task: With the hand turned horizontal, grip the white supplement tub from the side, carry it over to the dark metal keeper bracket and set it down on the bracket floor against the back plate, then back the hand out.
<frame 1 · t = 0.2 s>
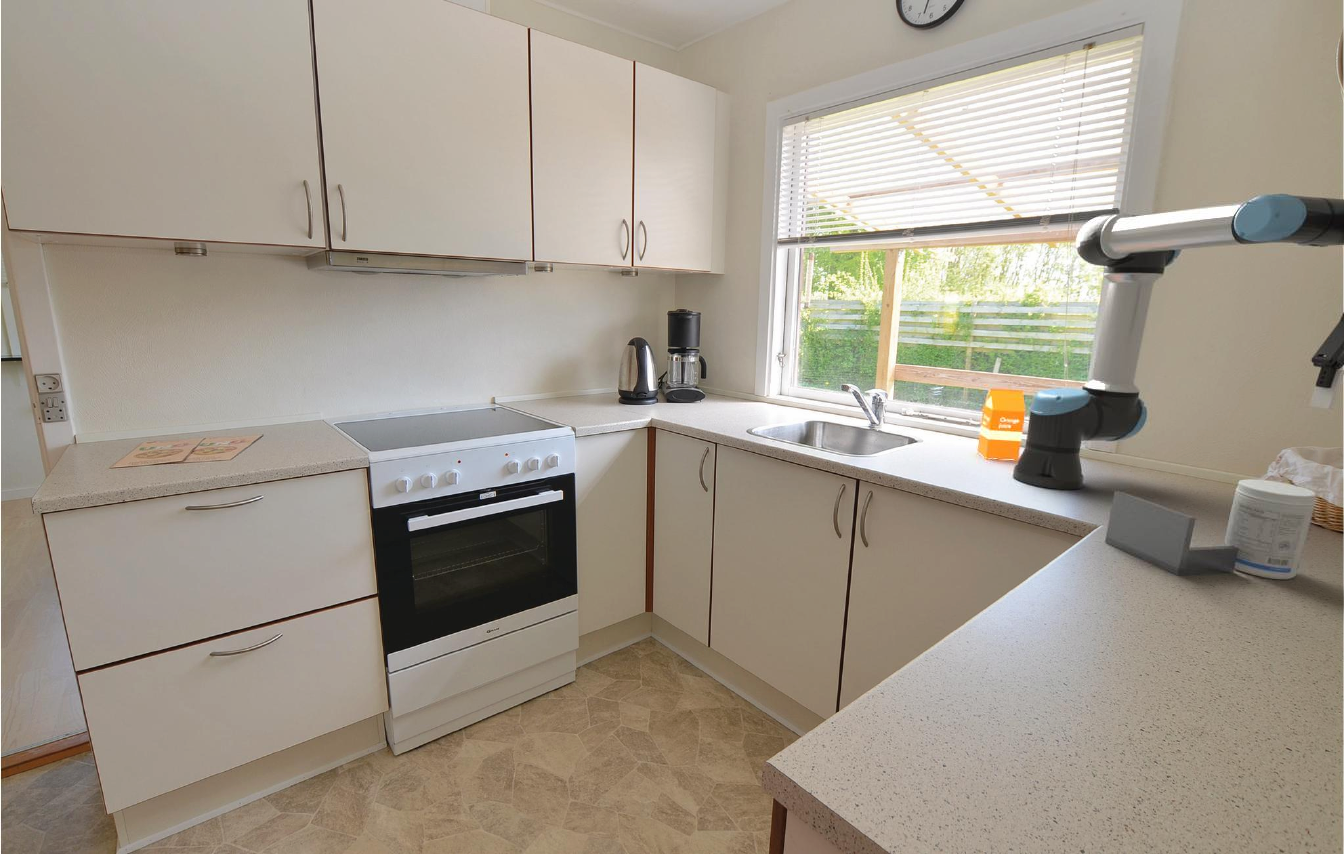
keeper bracket: (1165, 556, 107), on the countertop
supplement tub: (1256, 569, 103), on the countertop
orange juice: (996, 457, 176), on the countertop
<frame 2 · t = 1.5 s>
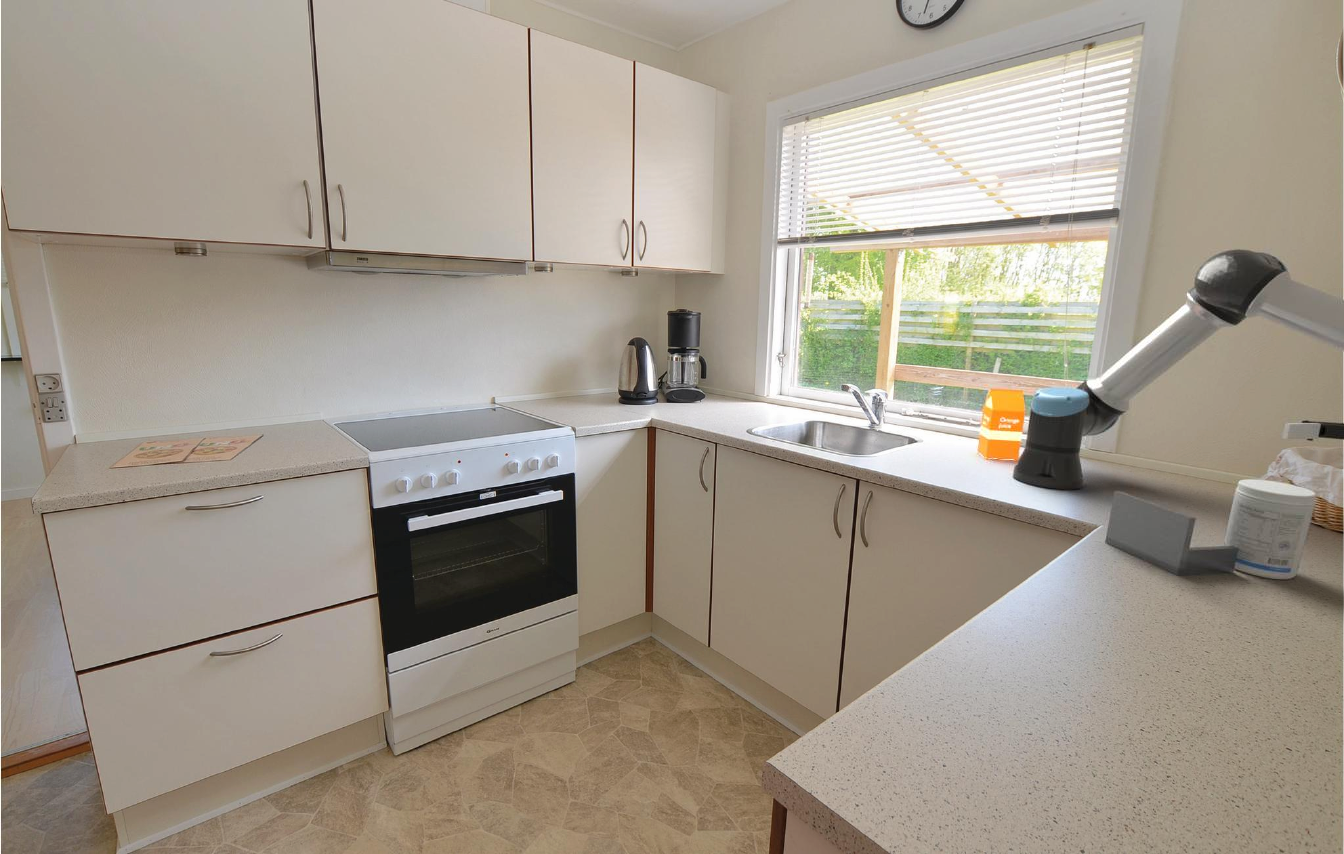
hand: (1332, 439, 100), 23 cm above the countertop, tool horizontal, fingers open, 13 cm apart
nothing on the countertop moved.
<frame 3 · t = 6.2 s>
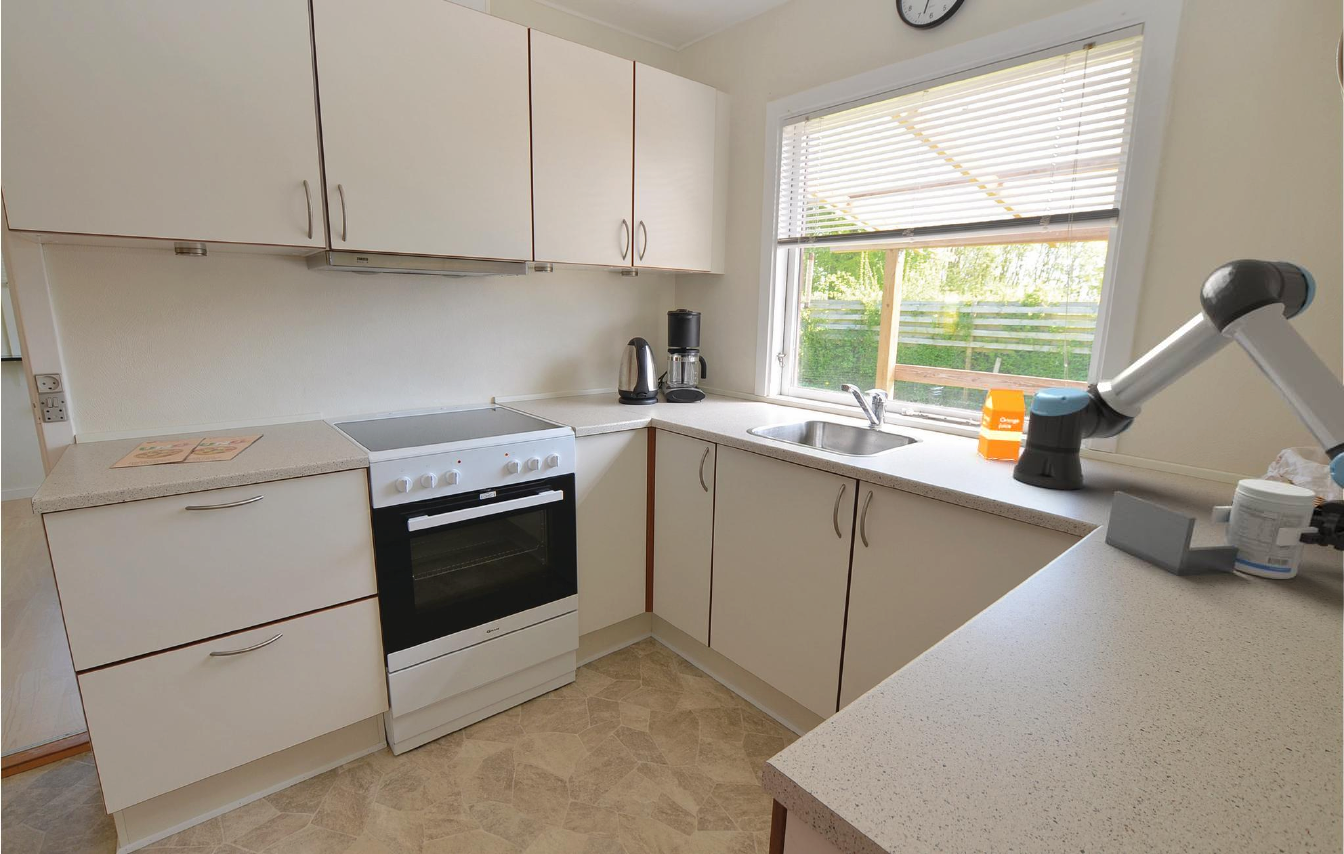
hand: (1245, 525, 100), 8 cm above the countertop, tool horizontal, fingers closed on supplement tub, 9 cm apart
supplement tub: (1256, 569, 103), on the countertop, touching gripper
everything else where it was.
when the fingers open (11 cm above the countertop, at t = 10.8 s): supplement tub drops 1 cm, resting on keeper bracket.
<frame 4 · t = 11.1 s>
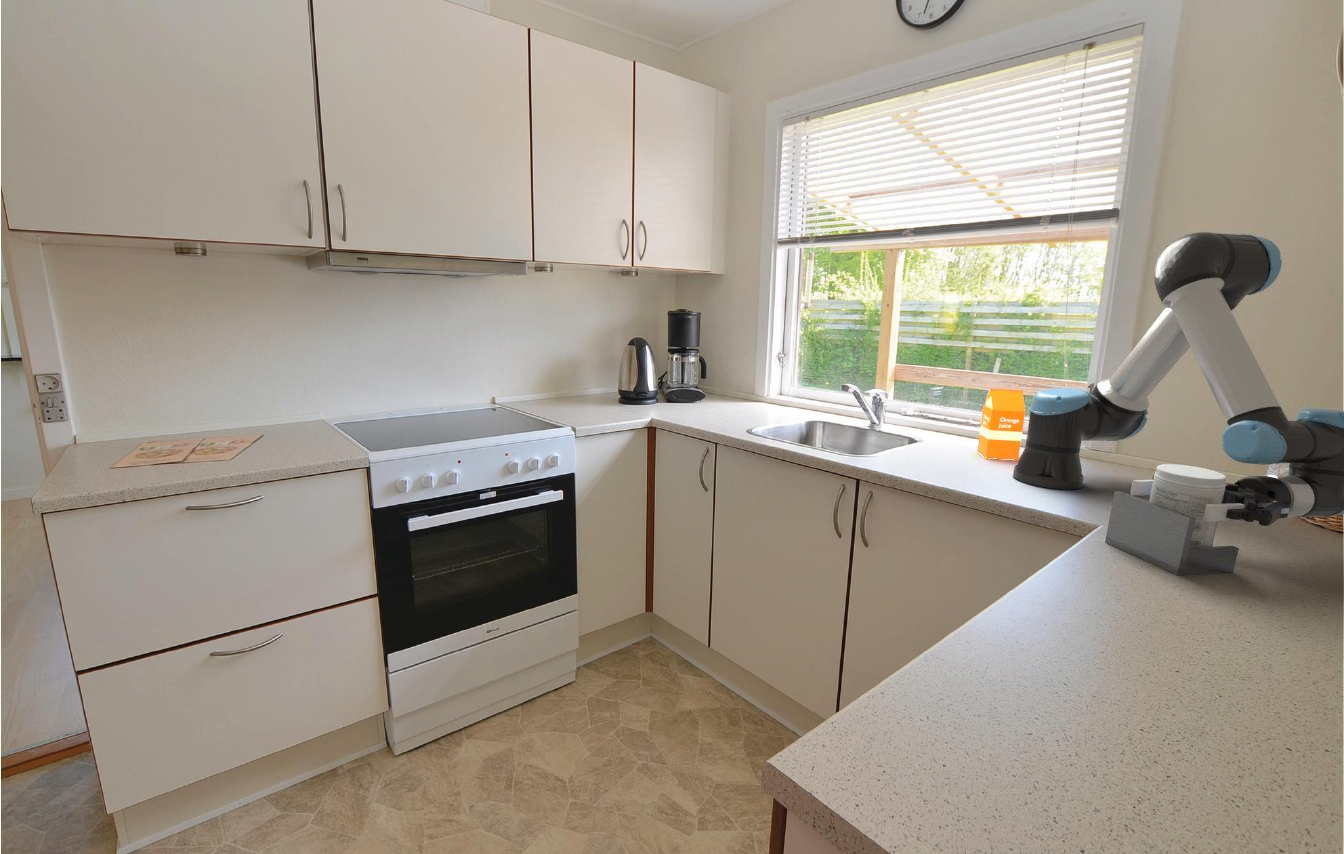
hand: (1167, 499, 104), 11 cm above the countertop, tool horizontal, fingers open, 13 cm apart
supplement tub: (1173, 551, 107), point 1 cm above the countertop, touching keeper bracket
everything else where it was.
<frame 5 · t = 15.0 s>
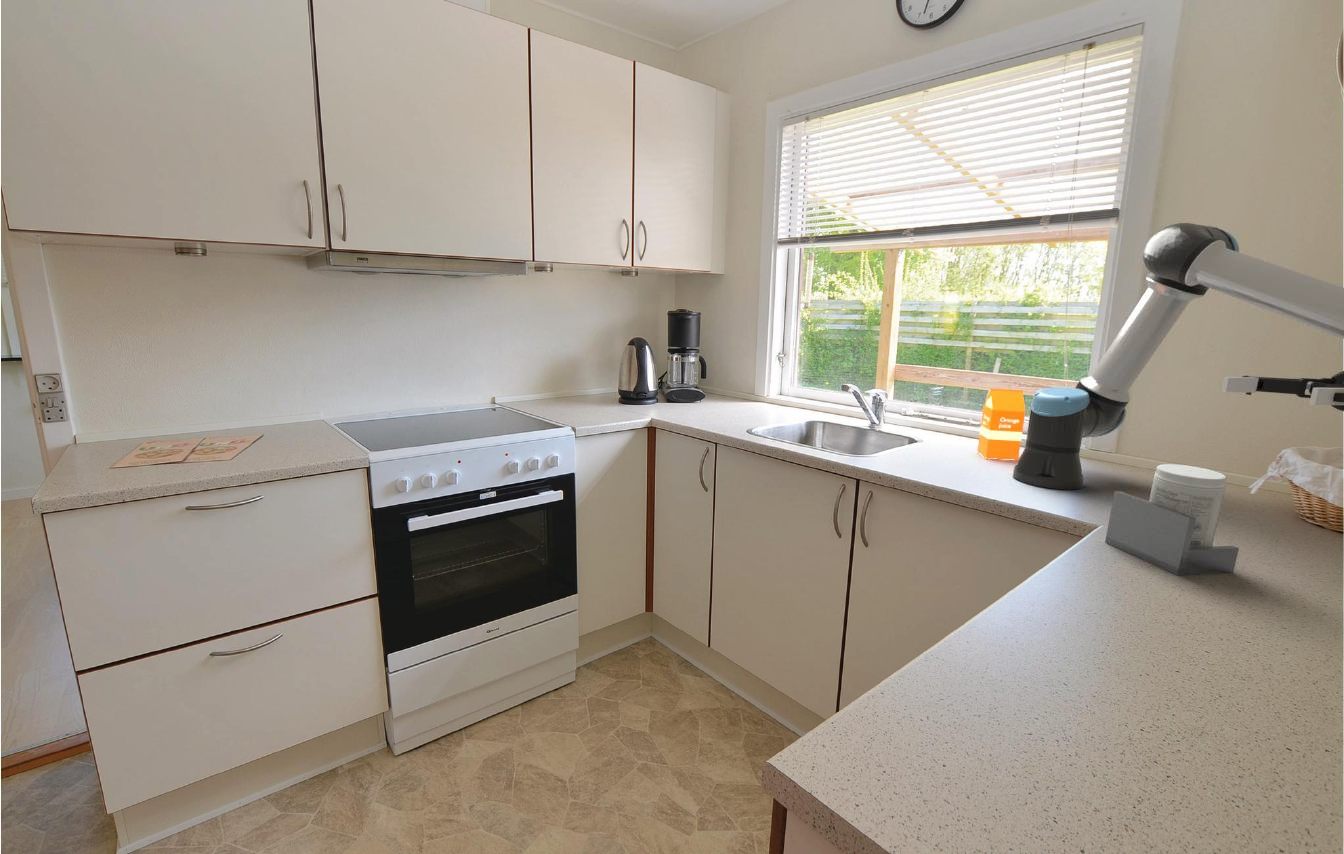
hand: (1266, 390, 103), 30 cm above the countertop, tool horizontal, fingers open, 13 cm apart
nothing on the countertop moved.
at the end: supplement tub inside the target area on the keeper bracket (0.1 cm from its centre), point 1.0 cm above the keeper bracket's base; supplement tub tilted 0°; the gripper is holding nothing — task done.
